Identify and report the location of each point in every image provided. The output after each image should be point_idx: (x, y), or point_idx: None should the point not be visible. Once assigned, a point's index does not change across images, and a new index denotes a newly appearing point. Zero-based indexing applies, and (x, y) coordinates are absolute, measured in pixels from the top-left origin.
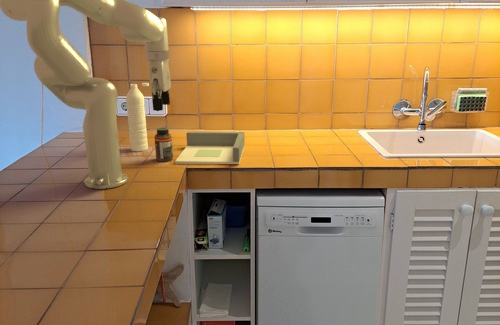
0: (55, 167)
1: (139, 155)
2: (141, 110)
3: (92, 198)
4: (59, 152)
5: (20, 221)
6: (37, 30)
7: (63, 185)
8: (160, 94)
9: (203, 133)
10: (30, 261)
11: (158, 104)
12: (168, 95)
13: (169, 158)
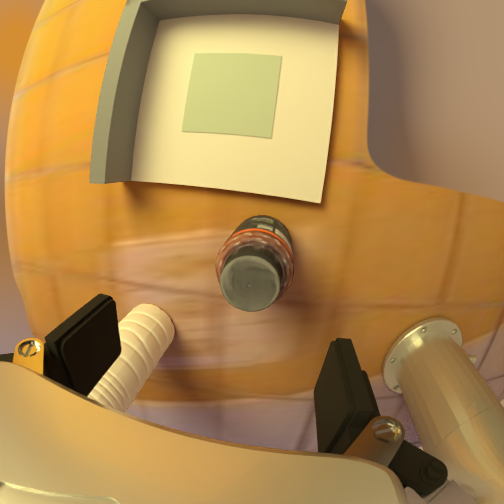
0: (291, 448)
1: (211, 322)
2: (97, 392)
3: (483, 349)
4: None
5: (498, 395)
6: None
7: (405, 413)
8: (384, 452)
9: (112, 115)
10: None
11: (370, 392)
12: (71, 336)
13: (283, 225)
